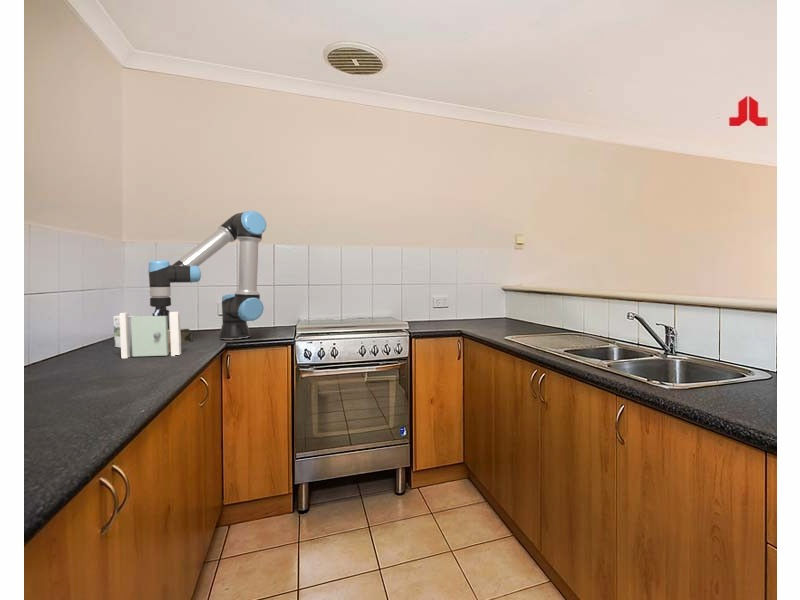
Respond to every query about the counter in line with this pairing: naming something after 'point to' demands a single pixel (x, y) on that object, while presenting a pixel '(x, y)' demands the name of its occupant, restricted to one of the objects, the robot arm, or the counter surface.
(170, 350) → the tan rectangular block
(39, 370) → the counter surface
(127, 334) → the white piece
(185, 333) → the beverage carton
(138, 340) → the door
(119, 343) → the syrup box
